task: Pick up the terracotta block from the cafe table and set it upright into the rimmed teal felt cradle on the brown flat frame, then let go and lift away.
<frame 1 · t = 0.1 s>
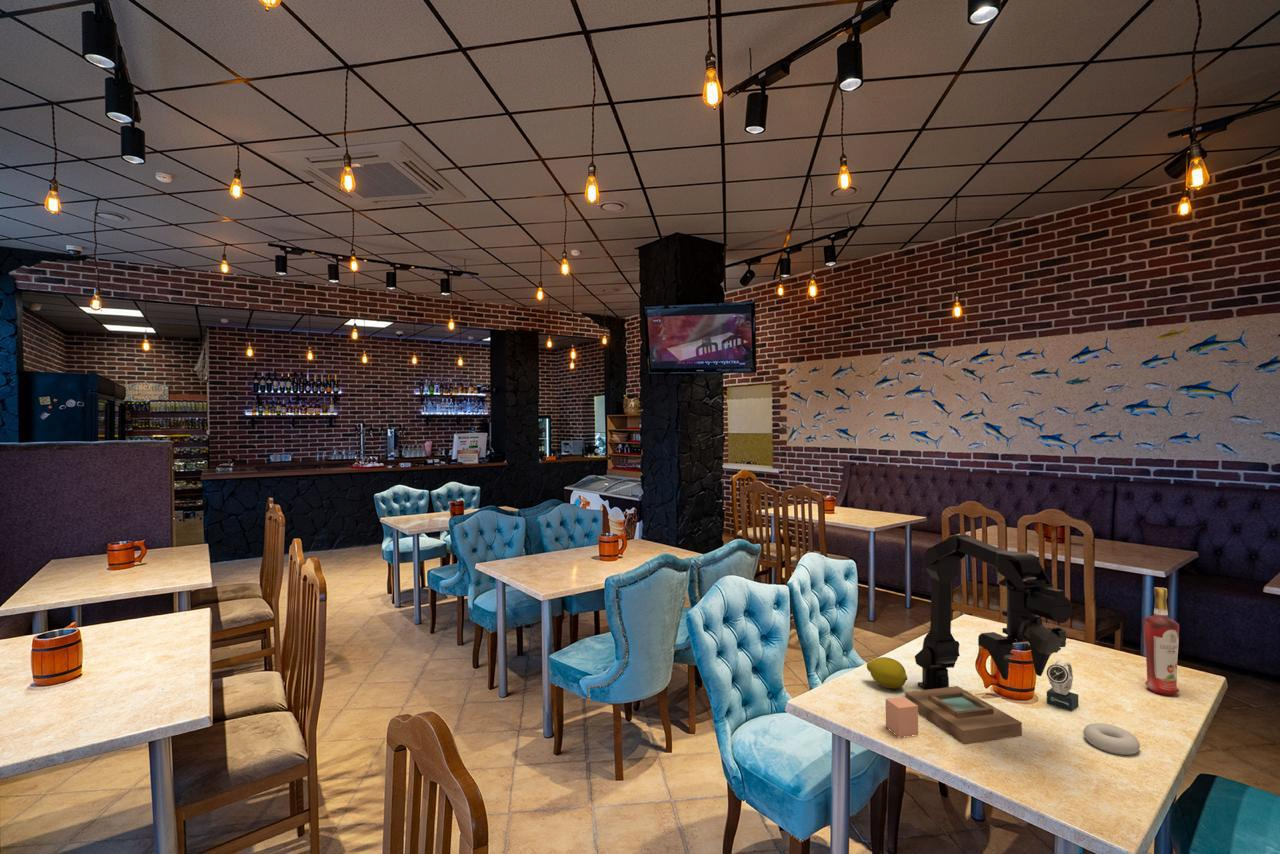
hand: (1022, 677, 134), 15 cm above the table, fingers open, 9 cm apart
terracotta block: (901, 731, 138), on the table
watch: (1062, 705, 151), on the table
brown flat frame: (960, 718, 144), on the table
lemon: (887, 687, 162), on the table
donut: (1111, 746, 132), on the table
liquor: (1161, 692, 158), on the table
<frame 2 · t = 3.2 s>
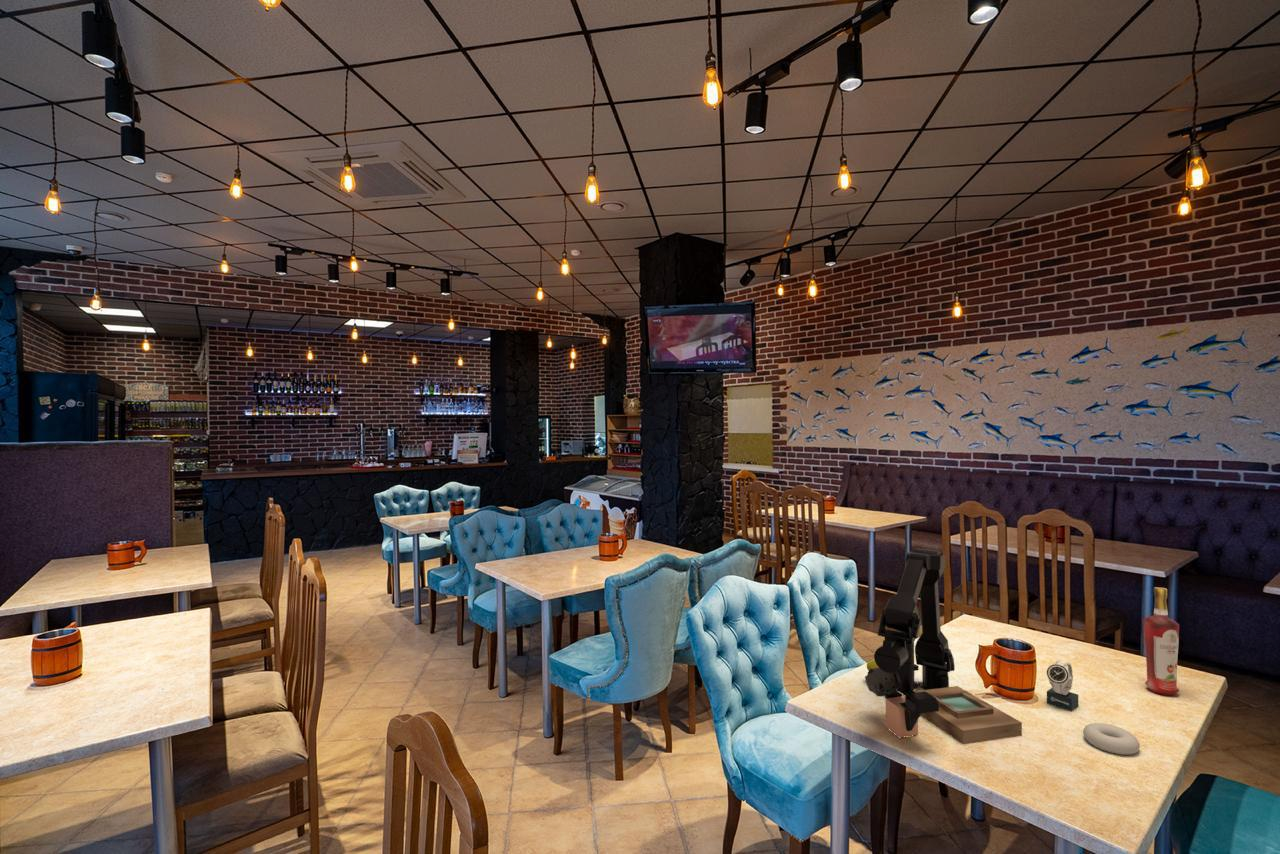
hand: (901, 724, 138), 2 cm above the table, fingers closed on terracotta block, 5 cm apart
terracotta block: (901, 731, 138), on the table, touching gripper
everything else where it was.
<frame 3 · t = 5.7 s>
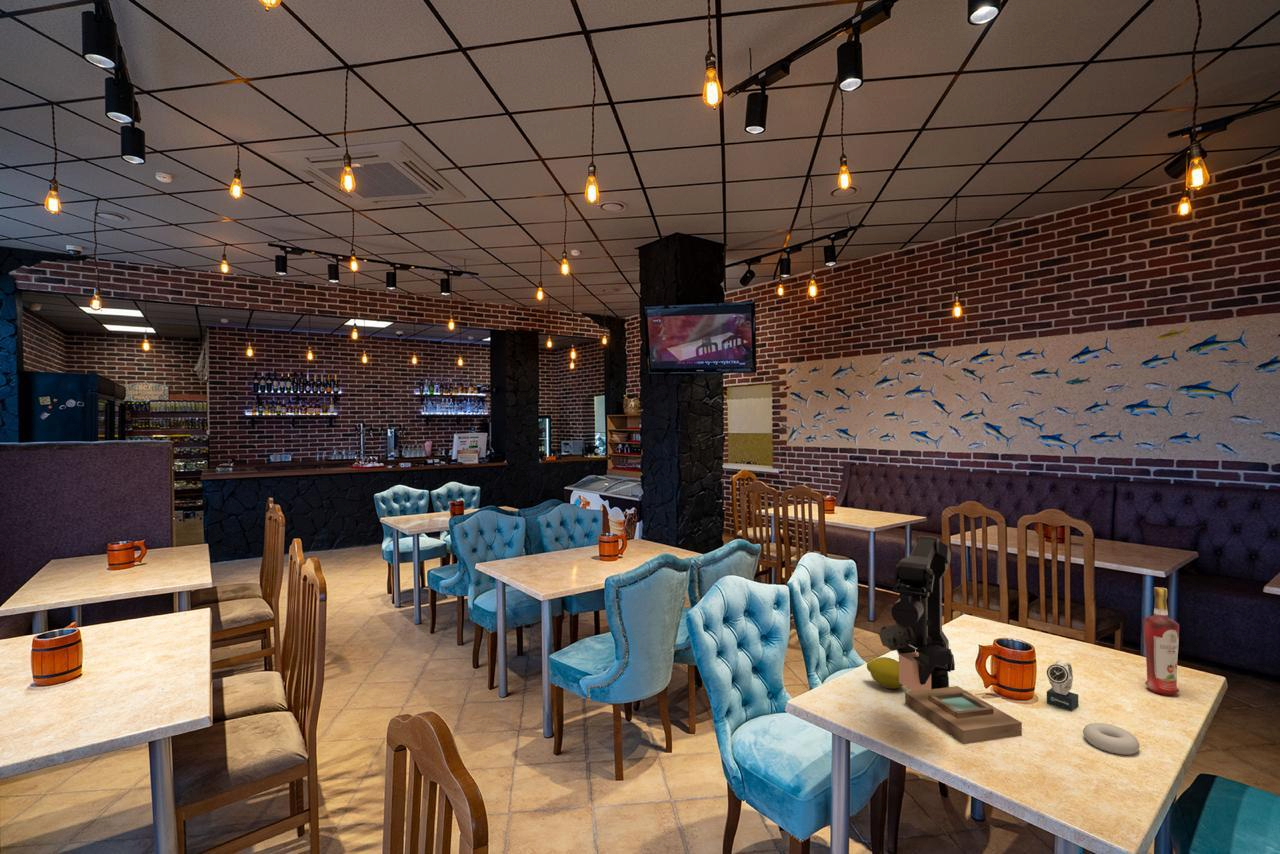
hand: (915, 679, 140), 12 cm above the table, fingers closed on terracotta block, 5 cm apart
terracotta block: (914, 685, 140), point 10 cm above the table, touching gripper
everything else where it was.
when the fingers open (6 cm above the table, at t = 8.3 s): terracotta block stays where it is, resting on brown flat frame.
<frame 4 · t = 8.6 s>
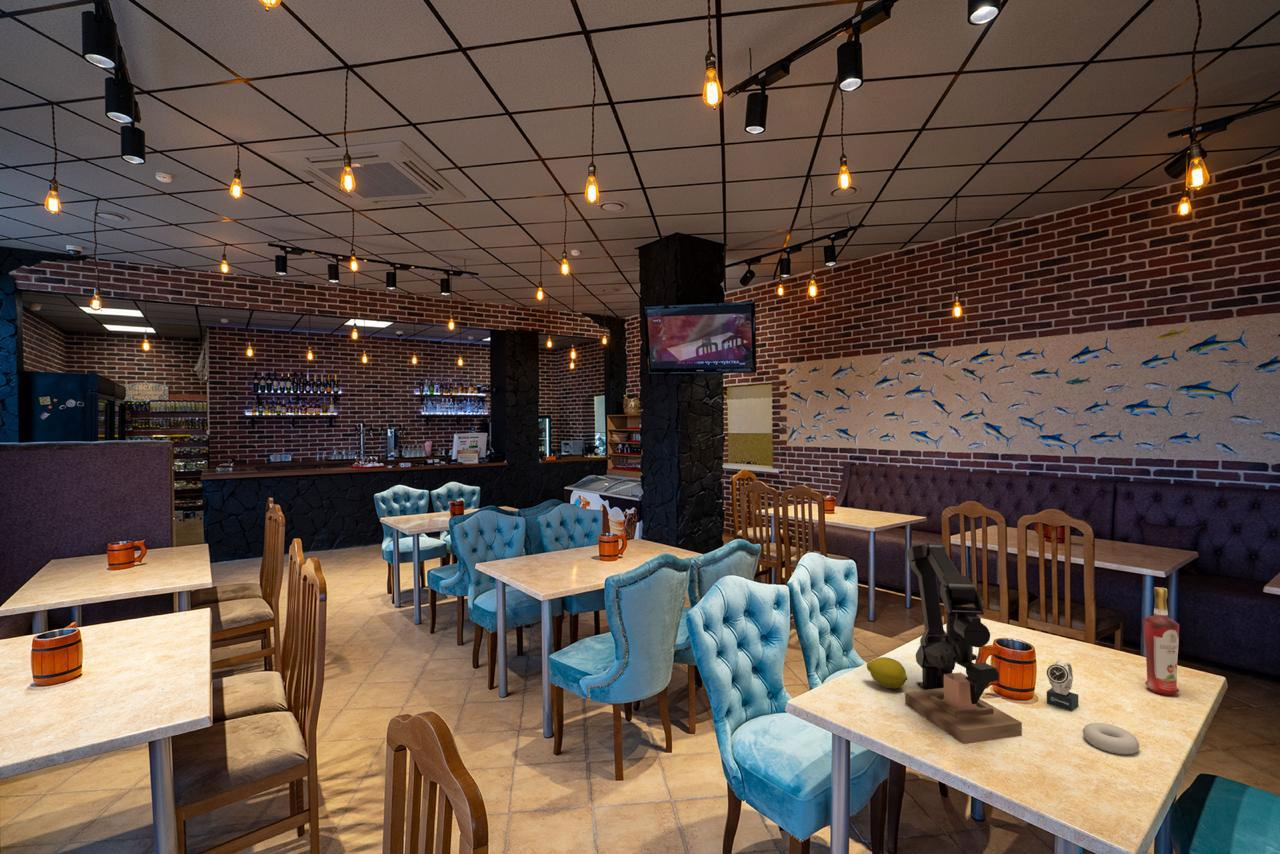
hand: (959, 695, 144), 6 cm above the table, fingers open, 9 cm apart
terracotta block: (960, 705, 144), point 3 cm above the table, touching brown flat frame
everything else where it was.
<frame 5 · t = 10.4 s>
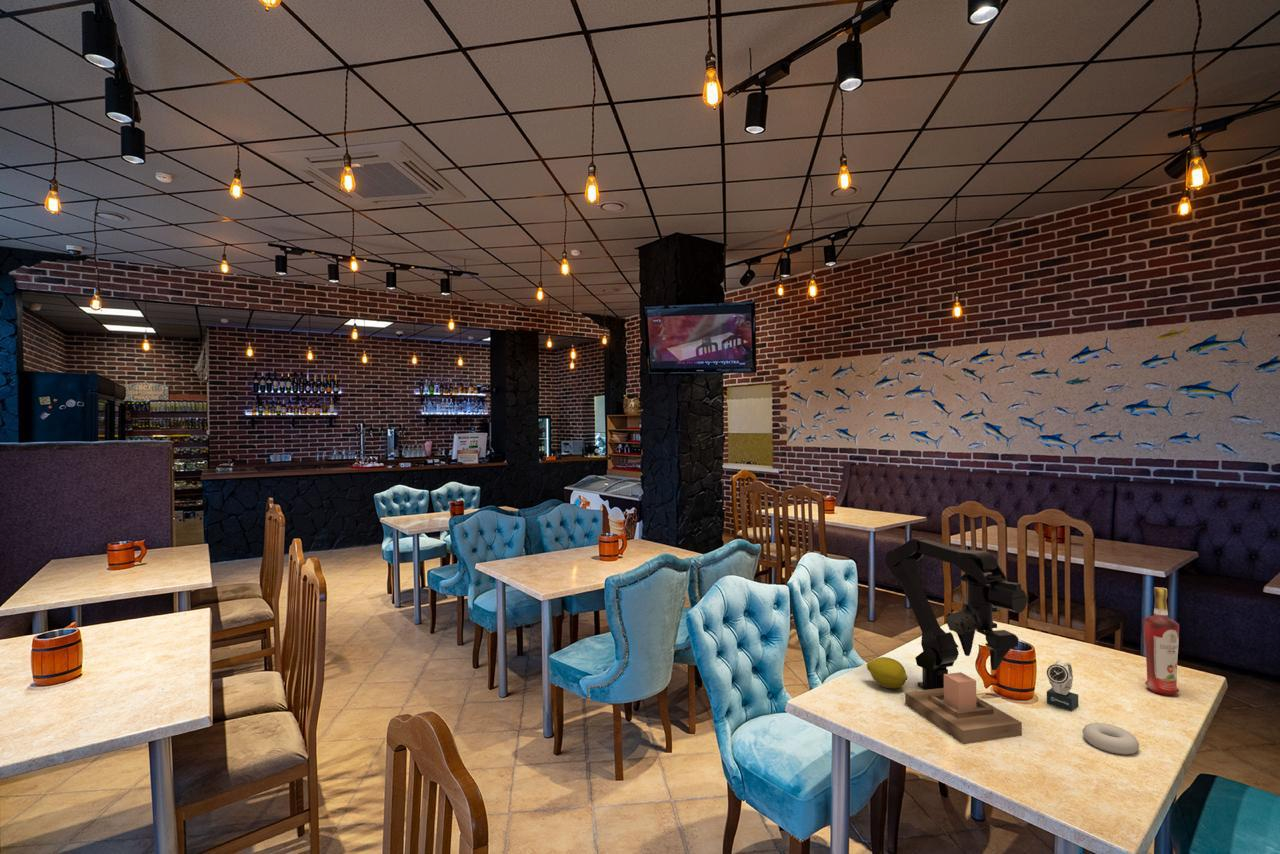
hand: (980, 662, 149), 12 cm above the table, fingers open, 9 cm apart
nothing on the table moved.
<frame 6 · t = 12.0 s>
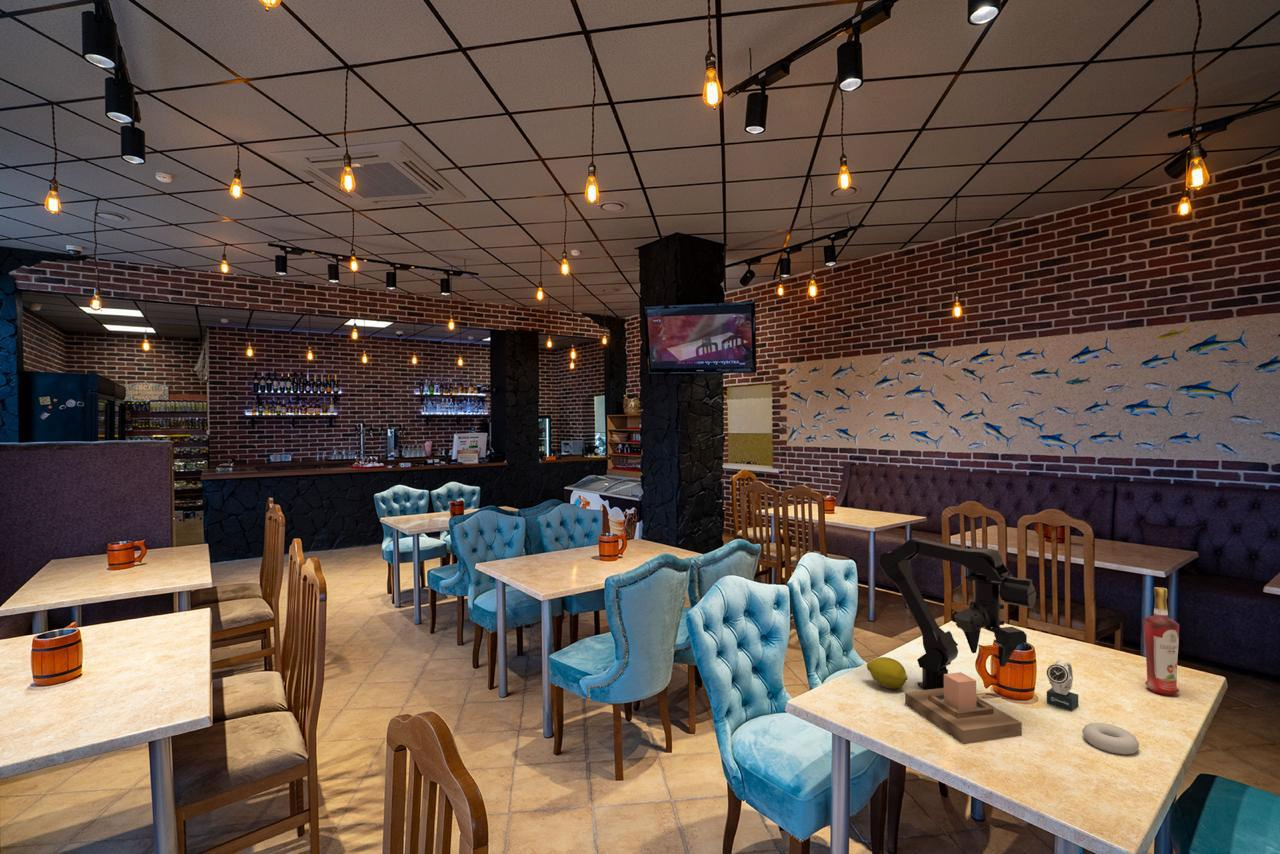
hand: (987, 659, 151), 12 cm above the table, fingers open, 9 cm apart
nothing on the table moved.
at the end: terracotta block 0.0 cm off-centre on the brown flat frame, point 3.2 cm above the brown flat frame's base; terracotta block tilted 0°; the gripper is holding nothing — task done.
